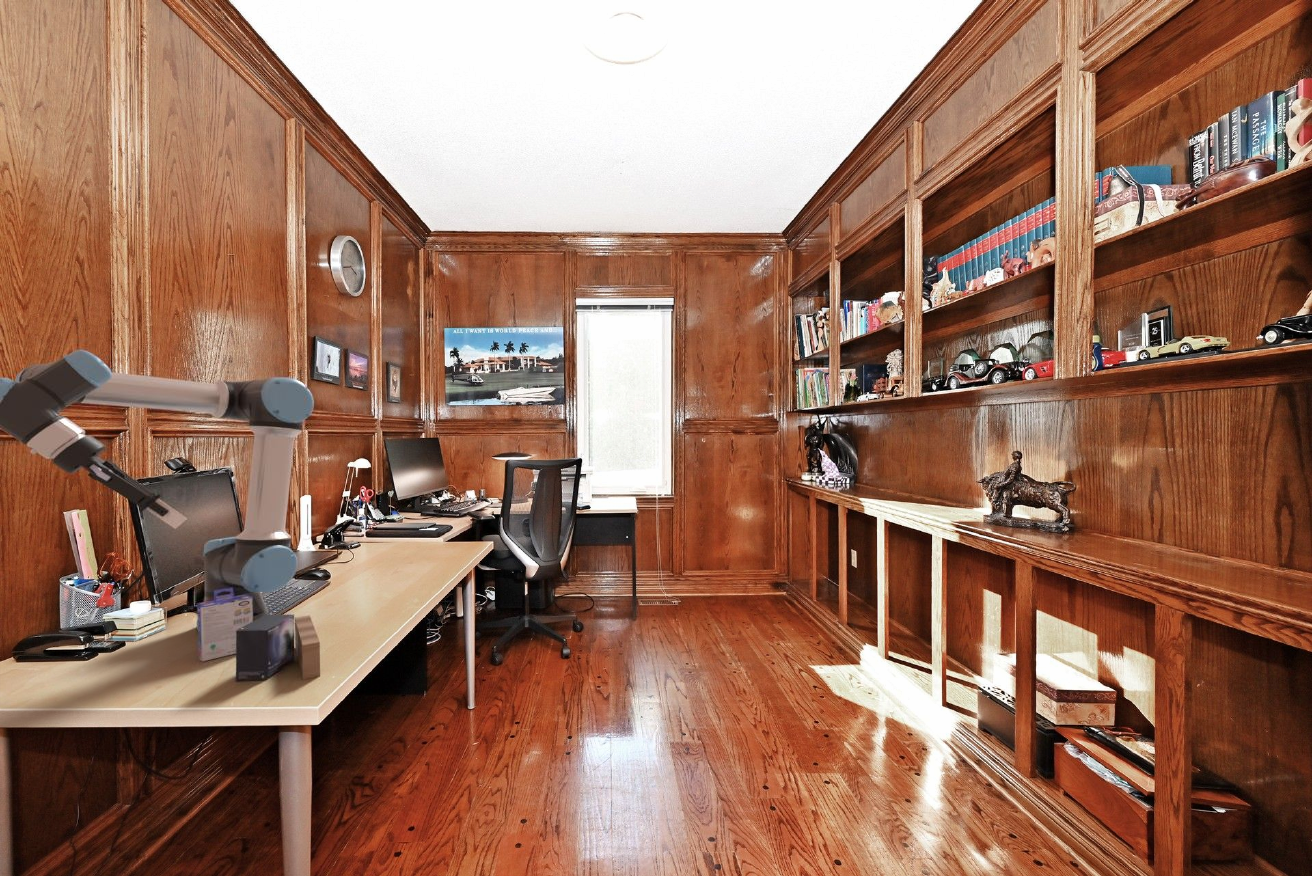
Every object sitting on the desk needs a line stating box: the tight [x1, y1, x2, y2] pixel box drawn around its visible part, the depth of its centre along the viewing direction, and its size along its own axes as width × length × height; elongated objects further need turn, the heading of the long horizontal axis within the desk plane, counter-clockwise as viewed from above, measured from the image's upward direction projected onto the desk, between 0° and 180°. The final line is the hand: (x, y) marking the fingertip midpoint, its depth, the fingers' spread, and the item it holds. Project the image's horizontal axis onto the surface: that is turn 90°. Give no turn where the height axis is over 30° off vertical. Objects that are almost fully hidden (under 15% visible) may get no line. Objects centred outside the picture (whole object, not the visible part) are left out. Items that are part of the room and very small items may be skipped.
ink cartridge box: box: [196, 587, 253, 662], centre depth 131 cm, size 10×6×14 cm, turn 137°
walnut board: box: [294, 615, 321, 681], centre depth 126 cm, size 22×3×7 cm, turn 36°
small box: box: [235, 613, 295, 682], centre depth 121 cm, size 11×6×10 cm, turn 4°
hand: (181, 523), depth 122 cm, fingers closed
